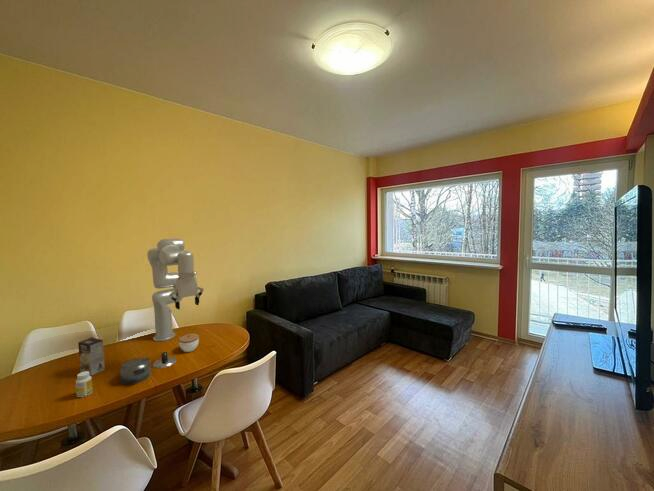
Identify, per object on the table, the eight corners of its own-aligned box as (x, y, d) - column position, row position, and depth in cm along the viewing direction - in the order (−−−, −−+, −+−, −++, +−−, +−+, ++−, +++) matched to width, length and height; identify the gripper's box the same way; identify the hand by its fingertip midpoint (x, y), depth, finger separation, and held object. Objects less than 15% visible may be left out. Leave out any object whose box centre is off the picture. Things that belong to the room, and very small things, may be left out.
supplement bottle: (77, 399, 117) (75, 378, 116) (75, 394, 120) (73, 374, 119) (93, 393, 121) (92, 373, 120) (91, 388, 124) (89, 368, 123)
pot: (117, 375, 135) (116, 362, 134) (146, 366, 143) (145, 353, 143) (125, 389, 123) (124, 375, 123) (155, 378, 132) (154, 365, 132)
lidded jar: (203, 346, 167) (202, 331, 166) (192, 354, 156) (192, 338, 155) (186, 345, 168) (186, 330, 167) (175, 353, 157) (174, 338, 156)
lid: (150, 363, 147) (149, 353, 146) (172, 356, 155) (172, 346, 154) (156, 371, 139) (155, 360, 139) (179, 363, 147) (178, 353, 147)
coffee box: (79, 372, 137) (77, 342, 136) (94, 366, 143) (91, 337, 142) (91, 375, 134) (89, 344, 133) (105, 369, 140) (103, 339, 139)
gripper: (199, 272, 153) (201, 301, 154) (165, 276, 140) (167, 309, 141) (205, 274, 148) (206, 304, 149) (171, 278, 135) (172, 312, 136)
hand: (187, 306), depth 145 cm, fingers open, 9 cm apart
